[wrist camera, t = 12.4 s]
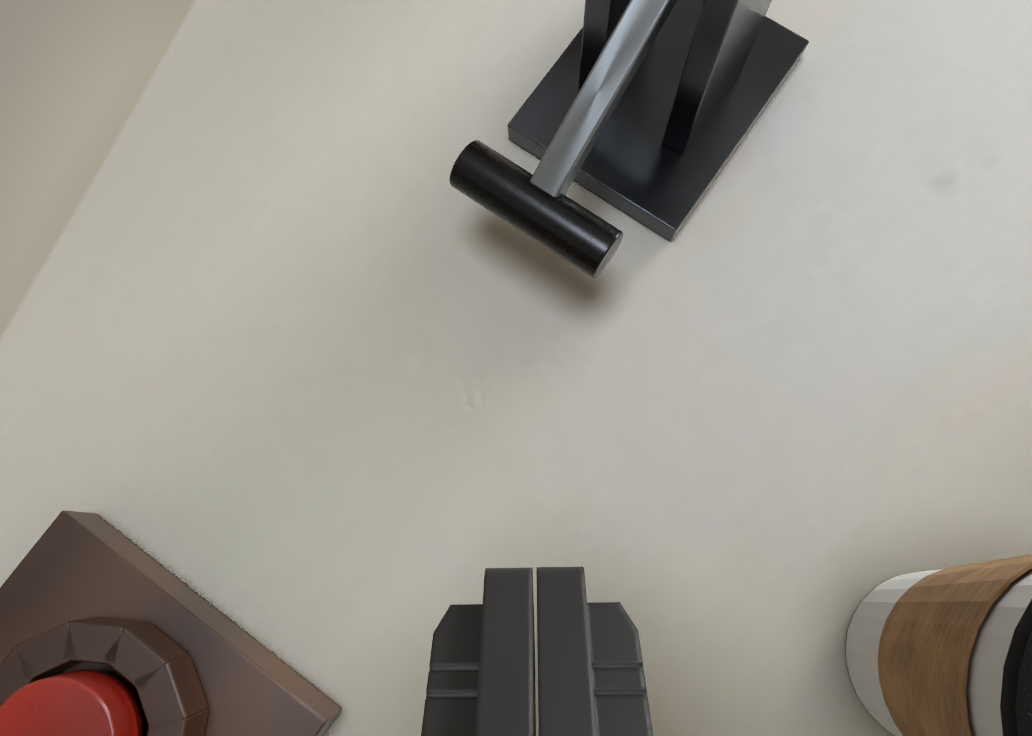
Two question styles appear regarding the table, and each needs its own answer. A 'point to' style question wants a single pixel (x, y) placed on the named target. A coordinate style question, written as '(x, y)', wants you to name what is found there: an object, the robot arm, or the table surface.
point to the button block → (145, 639)
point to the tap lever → (566, 154)
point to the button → (72, 707)
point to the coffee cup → (947, 651)
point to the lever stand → (667, 103)
